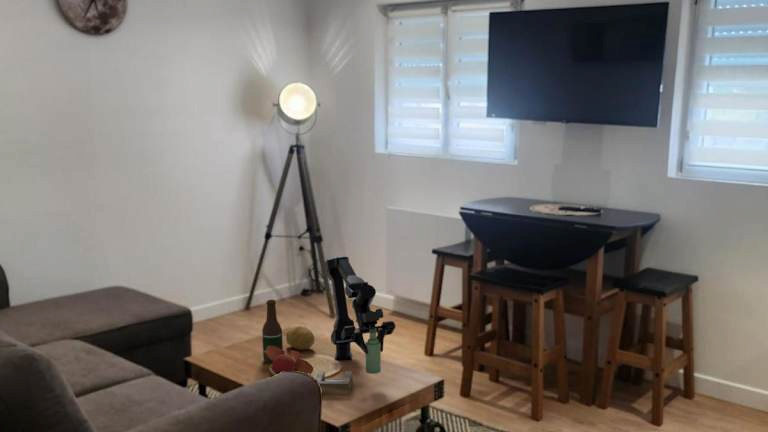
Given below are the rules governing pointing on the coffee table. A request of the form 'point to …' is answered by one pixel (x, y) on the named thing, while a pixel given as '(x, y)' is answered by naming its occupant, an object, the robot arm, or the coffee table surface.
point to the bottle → (373, 353)
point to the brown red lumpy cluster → (287, 361)
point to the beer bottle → (271, 331)
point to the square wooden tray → (335, 384)
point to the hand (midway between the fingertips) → (374, 352)
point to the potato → (300, 338)
